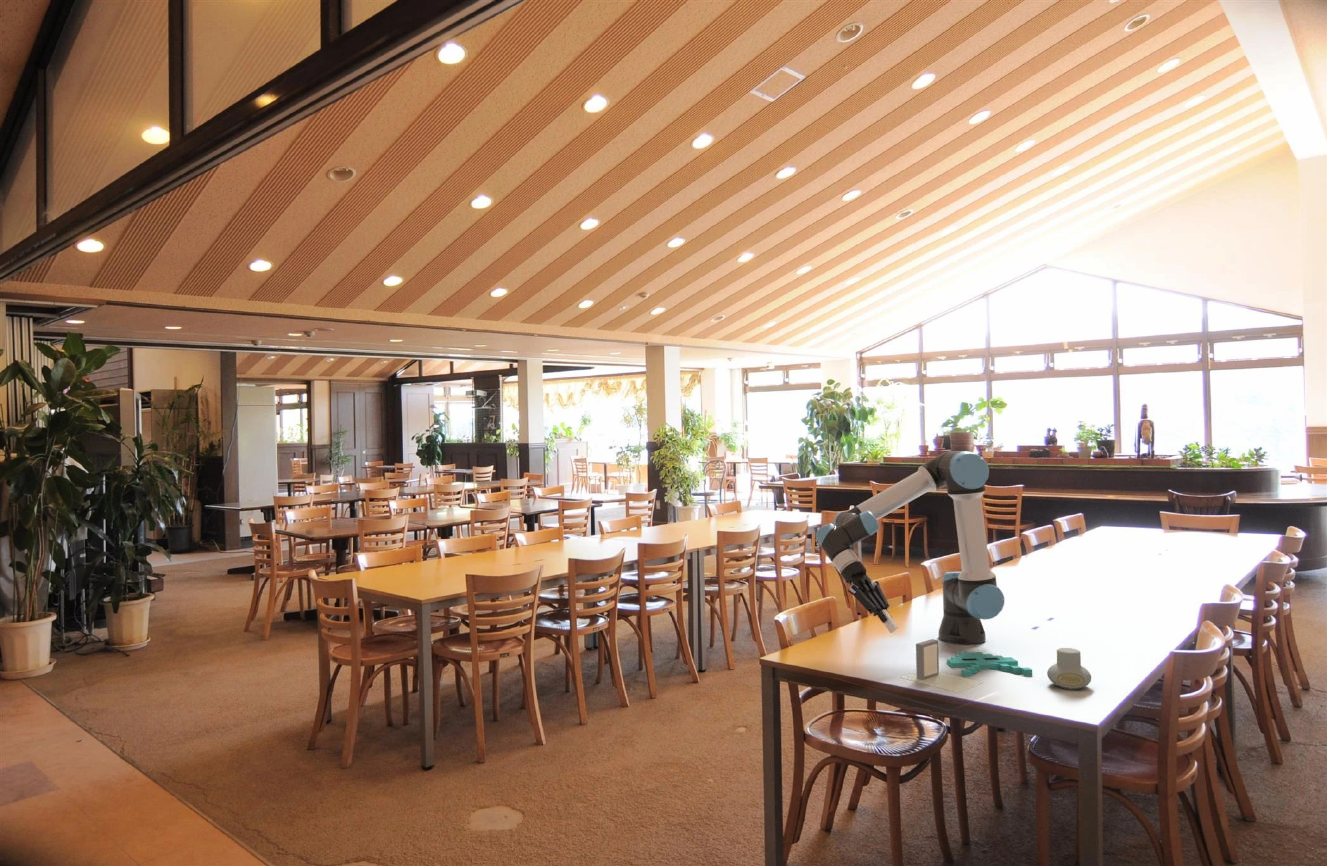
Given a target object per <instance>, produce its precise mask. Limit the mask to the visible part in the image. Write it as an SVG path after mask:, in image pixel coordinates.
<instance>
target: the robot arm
mask: <svg viewBox="0 0 1327 866" xmlns="http://www.w3.org/2000/svg"><path fill="white" fill-rule="evenodd" d="M989 475H990V468H989V465H988V463H987V461H986V459H984V457H983V456H981V455H979V453H978V454H977V453H975V452H973V451H968V450H966V451H965V450H964V451H962V450H959V451H958V450H949V451H946V452H945V451H944V452H943V453H940V454H939V455H937V456H936V457H933V458H932V459H930V460H928V461H927V462H925V463H924V464H922V465H920V466H919V467H918V469H917V471H916V472H914V473H912V474H910V475H908V476H907V477H905V478H903V479H902V480H900V481H898V482H897V483H896V482H895V484H892V485H891V486H889V487H888V488H886V489H884V490H882V491H881V492H879V493H877V494H876V495H873V496H872V497H870V498H867V500H865V501H863V502H861V503H859V504H858V505H856V506H854V507H852V508H851V509H848V510H846V511H845V510H844V511H840V512H838V513H837V514H836V515H835V516H834V519H833V523H828V524H824V525H823V526H821V527H820V528H819V529H818V530H817V531H816V533H815V539H816V541H817V542H818V544H819V546H820V547H821V549H822V550H823V552H824V553H825V554H826V556H827V557H828V558H829V560H830V561H831V564H833V565H834V567H835V569H836V570H837V571H838V573H839V574H840V576H841V578H842V579H843V580H844V582H845V583H846V584H847V585H849V586H850V587H849V588H848V589H847V591H848V593H849V594H850V595H852V596H853V597H854V598H855V599H856V600H857V601H858V602H859V603H860V604H861V605H862V607H864V609H865V610H866V611H867V612H868V613H869V614H871V615H872V616H873V617H876V616H877V617H878V619H879V620H880V622H881V623H882V624H884V626H885V628H886V629H887V630H888V632H889V633H890V634H893V633H894V632H896V631H897V630H898V628H899V625H898V624H897V623H896V621H895V620H894V619H893V617H892V615H891V613H890V612H889V611H888V609H889V607H890V604H889V602H888V599H887V598H886V597H885V594H884V592H883V589H882V588H881V586H880V582H879V581H878V580H875V581H872V579H871V578H870V577H869V576H868V575H867V569H866V567H865V566H864V564H863V563H862V561H860V559H859V557H858V556H857V555H856V553H855V552H854V550H853V549H852V548H851V547H853V546H855V545H857V544H859V543H860V542H862V541H863V540H865V539H866V538H869V537H870V536H871V537H872V536H873V535H874V534H875V533H877V532H878V531H879V530H880V525H879V522H878V520H880V519H881V518H883V517H885V516H887V515H888V514H890V513H892V512H894V511H896V510H898V509H899V508H901V507H903V506H905V505H907V504H909V503H910V502H912V501H913V500H915V499H917V498H919V497H920V496H922V495H924V494H926V493H928V492H929V491H930V492H936V491H938V490H939V489H943V488H944V487H946V490H947V491H946V492H947V495H948V497H950V498H951V499H952V501H953V509H954V517H955V518H954V519H955V525H956V533H957V540H958V541H957V543H958V551H959V557H960V558H959V559H960V567H961V571H947V572H945V573H944V574H943V575H942V600H943V601H942V603H943V604H942V608H943V615H942V620H941V623H940V626H939V629H938V639H939V640H941V641H943V642H947V643H951V644H959V645H960V644H961V645H975V644H976V645H978V644H981V643H984V642H985V641H986V640H987V639H986V631H985V629H984V626H983V622H982V621H981V620H991V619H993V618H995V617H997V616H998V615H999V614H1000V613H1001V612H1002V611H1003V608H1004V606H1005V596H1004V593H1003V591H1002V590H1001V589H1000V587H998V583H997V576H996V574H995V573H994V572H993V571H992V570H991V568H990V560H989V552H988V543H987V536H986V528H985V519H984V512H983V511H984V510H983V502H982V497H983V495H984V494H985V493H986V486H985V484H986V482H987V481H988V478H989Z"/></svg>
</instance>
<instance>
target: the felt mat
mask: <svg viewBox="0 0 1327 866" xmlns="http://www.w3.org/2000/svg"><path fill="white" fill-rule="evenodd" d="M900 678H901V679H904V680H909V681H912V682H916V683H920V684H922V685H926V686H931V687H935V688H938V689H942V690H945V691H949V692H954V693H960V692H962V691H965V690H968V689H970V688H973V687H975V686H979V685H980V684H983V682H982V681H979V680H974V679H970V678H966V677H963V676H962V677H961V676H959V675H953V674H949V673H945V672H942V671H939V675H936V676H933V677H931V678H928V679H925V680H920V679H917V672H914V673H911V674H909V675H905V676H902V677H900Z"/></svg>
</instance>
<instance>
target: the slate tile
mask: <svg viewBox="0 0 1327 866" xmlns="http://www.w3.org/2000/svg"><path fill="white" fill-rule="evenodd" d="M915 657H916V658H915V660H916V662H915V664H916V667H915V671H916V672H915V673H917V679H920V680H925V679H928V678H931V677H933V676H936V675H939V672H940V667H939V666H940V665H939V663H940V662H939V661H940V659H939V658H940V656H939V640H938V639H935V638H931V639H928V640H924V641H921V642H918V643H915Z"/></svg>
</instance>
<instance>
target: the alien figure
mask: <svg viewBox="0 0 1327 866" xmlns="http://www.w3.org/2000/svg"><path fill="white" fill-rule="evenodd" d="M954 655H955V656H950V658H947V659H946V664H947V665H948V666H949V667H951V668H952V669H954V668H960V669H961V668H963V669H961V671H960V674H961V676H962V677H973V675H975V674H977V672H981V670H992V671H1000V672H1002V673H1006V672H1007V673H1011V674H1013V675H1022V676H1024V677H1032V676H1033V669H1031V668H1030V667H1021V666H1019V662H1018V660H1017V659H1015V658H1013V657H1012V656H1011V657H1010V656H1009V657H1008V656H1007V657H1004V656H1003V655H993V654H992V653H983V652H981V651H977V652H976V651H974V652H969V651H968V652H959V654H954Z"/></svg>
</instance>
